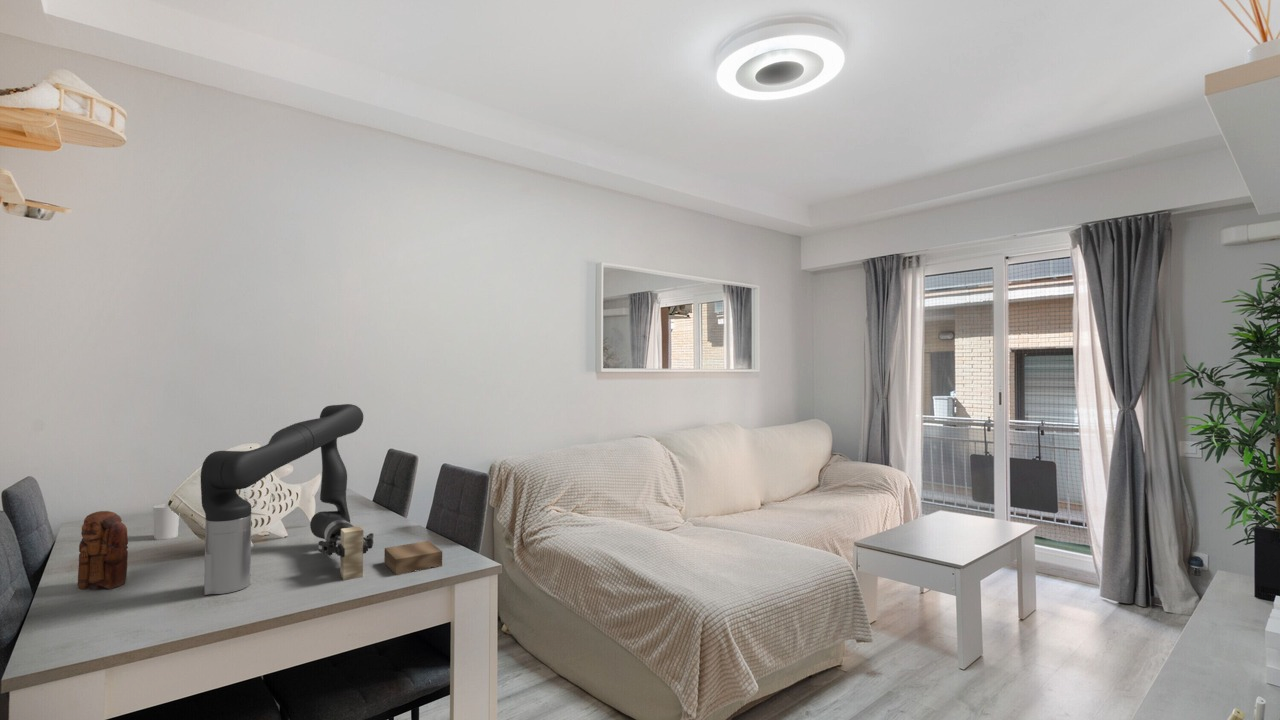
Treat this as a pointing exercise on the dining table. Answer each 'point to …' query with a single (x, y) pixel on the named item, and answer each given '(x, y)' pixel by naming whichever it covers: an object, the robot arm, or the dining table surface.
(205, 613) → the dining table surface
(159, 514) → the drinking glass
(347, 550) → the birch pillar
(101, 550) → the wooden figurine
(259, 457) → the robot arm
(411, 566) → the walnut plinth
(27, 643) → the dining table surface
